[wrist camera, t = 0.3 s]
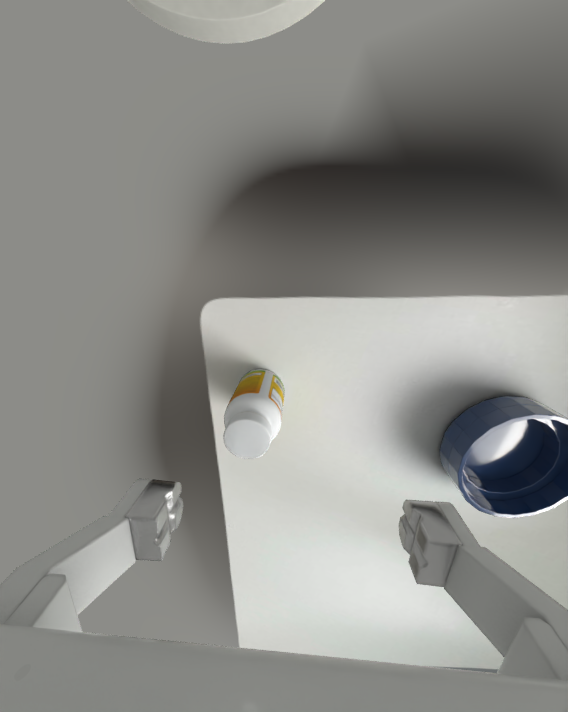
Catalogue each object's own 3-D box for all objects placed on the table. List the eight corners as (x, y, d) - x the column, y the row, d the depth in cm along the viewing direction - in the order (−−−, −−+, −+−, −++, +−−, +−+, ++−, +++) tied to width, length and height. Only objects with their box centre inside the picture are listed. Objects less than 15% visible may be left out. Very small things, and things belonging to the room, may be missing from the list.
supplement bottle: (232, 399, 32) (205, 452, 23) (248, 360, 31) (227, 401, 21) (274, 416, 33) (264, 475, 23) (292, 379, 31) (289, 427, 22)
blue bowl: (452, 389, 30) (477, 410, 26) (571, 397, 30) (617, 419, 26) (427, 482, 34) (445, 512, 30) (532, 490, 34) (565, 522, 30)
